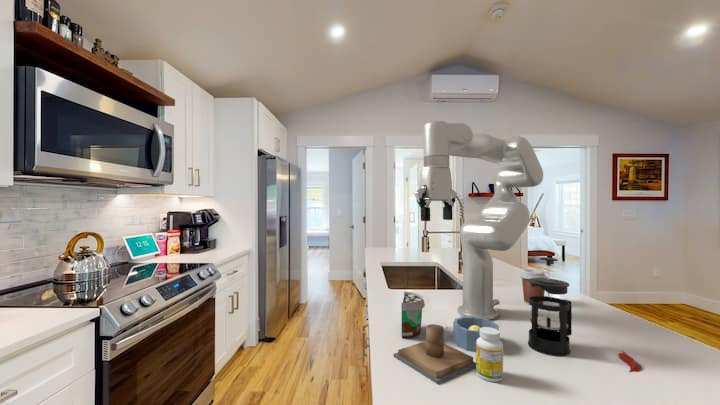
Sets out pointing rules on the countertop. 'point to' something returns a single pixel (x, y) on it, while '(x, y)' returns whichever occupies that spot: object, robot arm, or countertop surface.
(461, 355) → the lid
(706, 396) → the countertop surface
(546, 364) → the countertop surface
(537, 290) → the coffee cup
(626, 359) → the cayenne pepper
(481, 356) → the supplement bottle
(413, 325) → the food container
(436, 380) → the mat
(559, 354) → the french press
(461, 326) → the bowl
